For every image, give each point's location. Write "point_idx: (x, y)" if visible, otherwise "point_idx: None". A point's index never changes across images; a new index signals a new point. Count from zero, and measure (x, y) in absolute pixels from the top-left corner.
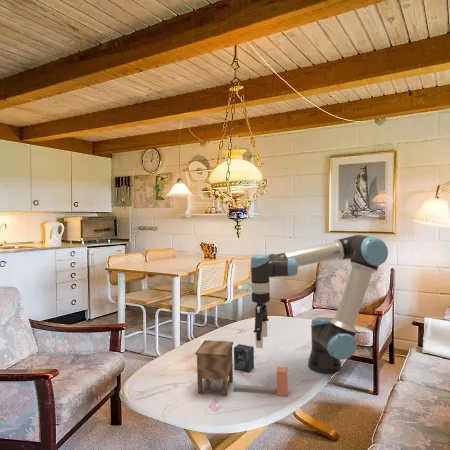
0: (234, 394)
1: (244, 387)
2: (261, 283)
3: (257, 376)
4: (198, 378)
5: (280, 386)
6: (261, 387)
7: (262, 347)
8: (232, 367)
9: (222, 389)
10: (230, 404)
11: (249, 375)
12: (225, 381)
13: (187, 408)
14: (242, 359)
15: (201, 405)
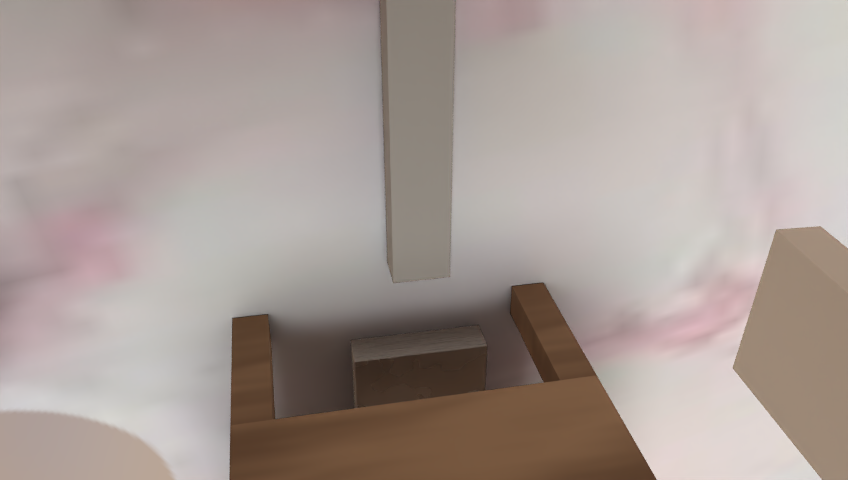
0: (503, 233)
1: (438, 182)
2: None
3: (22, 106)
4: None
5: None
6: (408, 3)
7: (833, 237)
8: (237, 415)
9: (485, 346)
10: (674, 217)
11: (35, 199)
12: (592, 374)
13: (719, 446)
14: None
15: (684, 391)
